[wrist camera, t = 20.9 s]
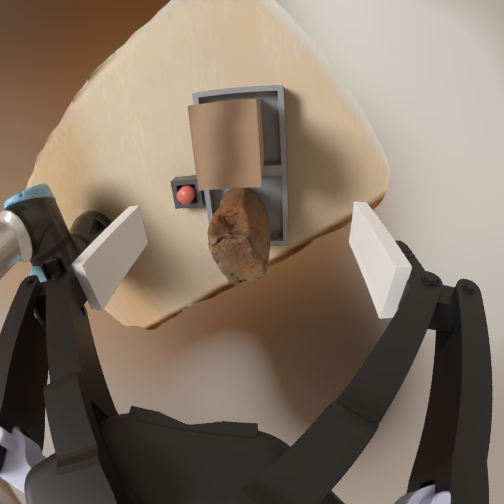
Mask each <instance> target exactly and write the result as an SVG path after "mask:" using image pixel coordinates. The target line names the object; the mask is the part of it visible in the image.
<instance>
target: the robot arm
mask: <svg viewBox="0 0 504 504" xmlns="http://www.w3.org/2000/svg"><path fill="white" fill-rule="evenodd" d="M147 244H148V239H147V235H146V231H145V227H144V223H143V219H142V215H141V210H140V206H129V207H128V208H127V209H126V210H125V211H124V212H123V213H122V214H121V215H120V216H119V217H117V218H116V219H115V220H114V221H113V222H112V223H111V221H110V220H109V219H108V218H106V217H105V216H104V215H102V214H100V213H98V212H94V211H87V212H84V213H82V214H81V215H80V216H79V217H77V218H76V220H75V221H74V223H73V225H72V227H71V229H70V231H69V230H68V228H67V226H66V224H65V222H64V219H63V217H62V215H61V212H60V210H59V208H58V205H57V203H56V199H55V197H54V196H53V194H52V192H51V190H50V187H49V186H48V185H46V184H39V185H36V186H33V187H31V188H28V189H26V190H24V191H22V192H21V193H19V194H16V195H14V196H13V197H11V198H9V199H8V200H7V201H6V202H5V203H4V211H2V212H1V213H0V279H1V278H2V277H3V276H4V275H5V274H6V273H7V272H8V271H9V270H10V269H11V268H12V267H13V266H14V265H15V264H16V263H17V262H18V261H19V262H24V263H25V262H28V261H29V260H30V262H31V264H32V266H33V268H32V269H31V272H30V276H28V277H27V278H25V279H24V280H23V281H22V283H21V284H20V286H19V288H18V290H17V293H16V295H15V297H14V300H13V302H12V304H11V307H10V310H9V312H8V314H7V317H6V320H5V323H4V325H3V328H2V331H1V333H0V504H22V502H21V501H20V499H19V498H18V496H17V495H16V493H15V492H14V490H13V489H12V487H11V486H10V484H12V485H13V486H14V487H16V488H17V489H19V490H20V491H22V492H23V493H25V497H26V503H27V504H344V502H342V501H341V500H340V499H339V498H338V497H337V496H336V495H335V494H334V493H333V492H332V491H331V490H332V489H333V487H334V486H335V485H336V484H337V483H338V482H339V481H340V479H341V478H342V477H343V476H344V475H345V473H346V472H347V471H348V469H349V468H350V467H351V466H352V464H353V463H354V462H355V461H356V459H357V458H358V457H359V455H360V454H361V453H362V451H363V450H364V448H365V447H366V446H367V444H368V443H369V441H370V440H371V438H372V437H373V435H374V434H375V432H376V430H377V428H378V425H379V423H380V421H381V420H382V418H383V416H384V415H385V413H386V411H387V410H388V408H389V406H390V405H391V403H392V401H393V399H394V398H395V396H396V394H397V392H398V390H399V389H400V387H401V385H402V383H403V381H404V379H405V377H406V375H407V373H408V371H409V369H410V367H411V365H412V363H413V361H414V359H415V357H416V354H417V352H418V350H419V348H420V345H421V343H422V341H423V338H424V336H425V333H426V331H427V329H432V330H436V341H435V356H434V367H433V375H432V383H431V390H430V397H429V403H428V408H427V413H426V418H425V423H424V428H423V432H422V436H421V441H420V445H419V448H418V451H417V455H416V458H415V462H414V465H413V468H412V472H411V476H410V479H409V484H408V489H407V494H405V495H404V496H402V497H400V498H399V499H398V500H397V501H396V502H395V504H489V484H488V469H487V457H488V450H489V443H490V433H491V420H492V367H491V354H490V344H489V336H488V329H487V322H486V316H485V311H484V305H483V300H482V295H481V291H480V289H479V287H478V286H477V285H476V284H475V283H473V282H472V281H470V280H467V279H460V280H459V281H458V282H457V284H456V286H455V287H450V286H445V285H442V281H441V279H440V278H439V277H438V276H437V275H435V274H433V273H431V272H428V271H425V270H424V269H423V267H422V266H421V264H420V263H419V262H418V260H417V259H416V258H415V255H414V254H413V253H412V251H411V250H410V249H409V248H408V246H407V245H406V244H404V243H403V242H401V241H394V239H393V238H392V236H391V235H390V233H389V232H388V231H387V229H386V228H385V226H384V225H383V224H382V222H381V221H380V220H379V218H378V217H377V216H376V214H375V213H374V212H373V210H372V209H371V208H370V206H369V205H368V204H367V202H355V201H354V207H353V216H352V223H351V231H350V238H349V244H350V246H351V248H352V251H353V253H354V255H355V258H356V260H357V262H358V264H359V267H360V269H361V272H362V274H363V277H364V279H365V282H366V284H367V287H368V289H369V292H370V294H371V297H372V300H373V302H374V305H375V308H376V310H377V313H378V316H379V318H392V317H393V318H392V320H391V322H390V324H389V325H388V327H387V329H386V330H385V332H384V334H383V335H382V337H381V338H380V340H379V341H378V343H377V344H376V346H375V348H374V349H373V351H372V352H371V354H370V355H369V357H368V358H367V360H366V361H365V362H364V364H363V365H362V367H361V368H360V370H359V371H358V372H357V374H356V375H355V376H354V378H353V379H352V381H351V382H350V383H349V385H348V386H347V387H346V388H345V390H344V391H343V392H342V394H341V395H340V396H339V397H338V399H337V400H336V401H333V402H332V403H331V404H330V405H329V406H328V407H327V408H326V409H325V410H324V411H323V413H322V414H321V415H320V416H319V417H318V418H317V420H316V421H315V422H314V423H313V424H312V425H311V426H310V427H309V428H308V429H307V431H306V432H305V433H304V434H303V435H302V436H301V437H300V438H299V439H298V440H297V441H296V442H295V443H294V444H293V445H292V446H291V447H290V446H289V445H288V444H286V443H285V442H283V441H282V440H280V439H278V438H276V437H275V436H272V435H270V434H267V433H264V432H261V431H258V424H256V423H237V422H225V421H222V422H214V423H206V424H195V425H188V424H185V423H182V422H180V421H178V420H175V419H173V418H171V417H168V416H166V415H164V414H162V413H160V412H157V411H152V410H147V409H143V408H139V407H135V406H131V409H130V412H129V413H126V414H120V415H119V414H118V413H117V411H116V409H115V406H114V404H113V401H112V398H111V396H110V393H109V390H108V387H107V384H106V381H105V378H104V375H103V372H102V369H101V365H100V362H99V359H98V355H97V352H96V348H95V345H94V341H93V336H92V332H91V328H90V324H89V319H88V315H87V310H86V308H85V306H84V304H85V302H86V301H88V303H89V305H90V306H91V308H92V309H96V310H103V309H104V308H105V306H106V304H107V303H108V301H109V300H110V298H111V297H112V295H113V293H114V292H115V290H116V289H117V287H118V286H119V284H120V283H121V281H122V280H123V278H124V277H125V275H126V274H127V272H128V271H129V270H130V268H131V267H132V265H133V264H134V262H135V261H136V260H137V258H138V257H139V255H140V254H141V253H142V251H143V250H144V248H145V247H146V246H147ZM397 309H398V310H397ZM34 314H35V315H36V318H35V316H34ZM48 370H49V375H50V384H48V385H47V379H48ZM45 406H46V412H47V417H48V422H49V427H50V432H51V436H52V440H53V444H54V448H55V452H56V453H54V454H52V455H51V456H49V457H48V458H46V457H45V456H43V455H42V450H43V444H44V443H43V442H44V432H45ZM9 483H10V484H9Z"/></svg>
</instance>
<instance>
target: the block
mask: <svg viewBox="0 0 504 504" xmlns="http://www.w3.org/2000/svg"><path fill="white" fill-rule="evenodd" d="M220 205H221V206H220V207H219V208H218V209H217V210H216V212H215V213H214V216H213V218H212V219H211V222H210V225H209V228H208V240H209V249H210V252H211V255H212V257H213V259H214V260H215V262H216V263H217V265H218V267H219V268H220V270H221V272H222V273H223V274H224V275H225V276H226V278H227V279H228V280H229V282H231V283H232V284H238V283H240V282H244V281H247V282H251V281H256V280H258V279H260V278H263V277H264V275H265V274H266V271H267V267H268V261H269V251H270V223H269V218H268V213H267V211H266V208H265V206H264V204H263V202H262V201H261V199H260V197H258V196H257V194H256V193H255V192H254V191H253V190H252V189H251V188H249V187H248V188H232V189H230V190H229V191H227V192H226V193H225V195H224V196H223V198H222V200H221V203H220Z"/></svg>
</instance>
